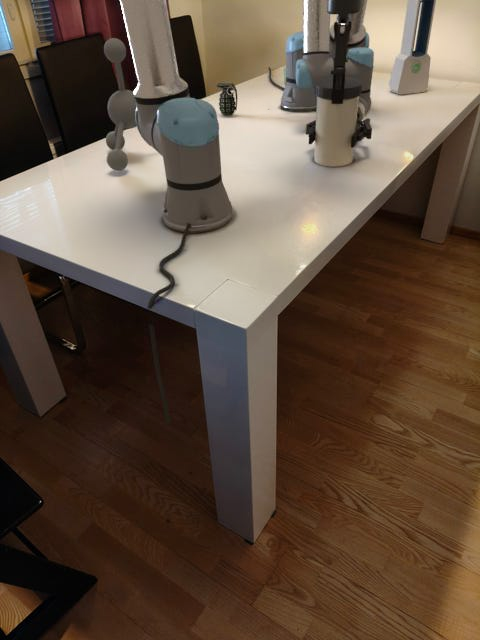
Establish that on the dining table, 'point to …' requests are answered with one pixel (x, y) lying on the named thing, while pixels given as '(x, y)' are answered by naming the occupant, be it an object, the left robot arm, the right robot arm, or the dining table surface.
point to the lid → (350, 88)
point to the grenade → (227, 99)
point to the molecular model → (119, 108)
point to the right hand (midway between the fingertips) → (331, 140)
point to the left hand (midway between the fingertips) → (337, 97)
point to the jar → (335, 131)
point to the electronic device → (415, 64)
